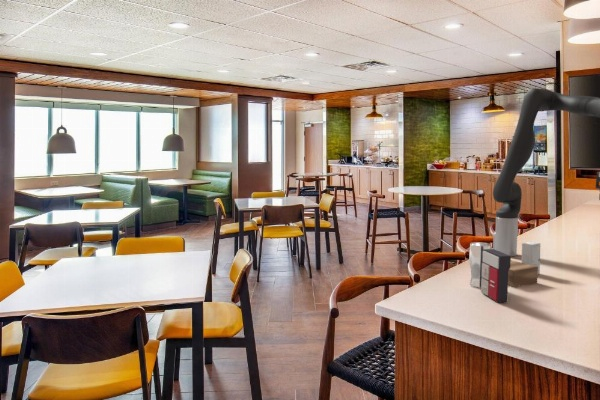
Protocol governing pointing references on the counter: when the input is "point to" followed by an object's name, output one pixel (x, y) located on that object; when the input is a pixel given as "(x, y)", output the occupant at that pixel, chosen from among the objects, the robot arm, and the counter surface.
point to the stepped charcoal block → (495, 274)
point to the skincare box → (531, 254)
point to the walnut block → (522, 274)
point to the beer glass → (476, 262)
